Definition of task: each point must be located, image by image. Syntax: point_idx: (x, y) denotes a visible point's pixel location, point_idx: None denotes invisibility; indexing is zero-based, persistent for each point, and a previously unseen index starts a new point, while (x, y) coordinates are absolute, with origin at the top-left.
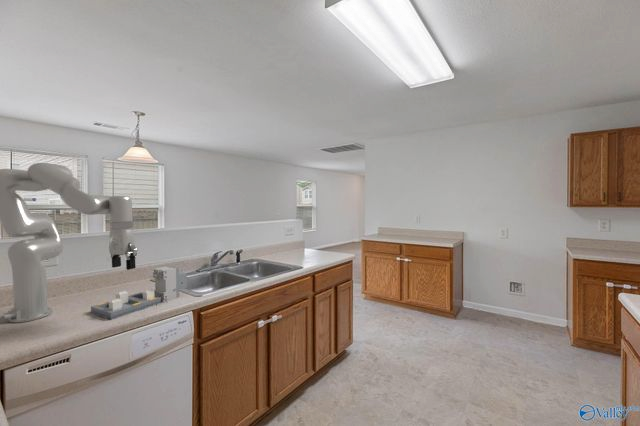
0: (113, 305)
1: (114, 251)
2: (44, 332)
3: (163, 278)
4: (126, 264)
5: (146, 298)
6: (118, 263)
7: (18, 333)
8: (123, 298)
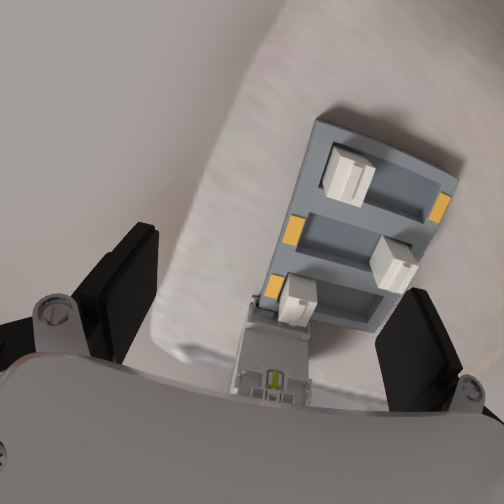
0: (336, 155)
1: (369, 474)
2: (442, 8)
3: (248, 374)
4: (124, 255)
5: (292, 280)
6: (391, 349)
7: (498, 13)
8: (381, 258)
